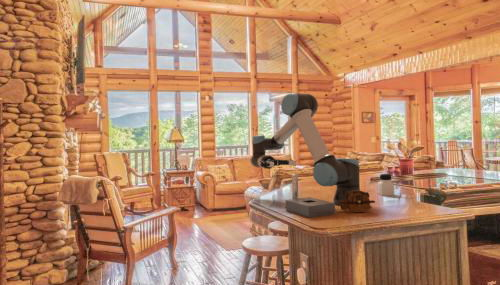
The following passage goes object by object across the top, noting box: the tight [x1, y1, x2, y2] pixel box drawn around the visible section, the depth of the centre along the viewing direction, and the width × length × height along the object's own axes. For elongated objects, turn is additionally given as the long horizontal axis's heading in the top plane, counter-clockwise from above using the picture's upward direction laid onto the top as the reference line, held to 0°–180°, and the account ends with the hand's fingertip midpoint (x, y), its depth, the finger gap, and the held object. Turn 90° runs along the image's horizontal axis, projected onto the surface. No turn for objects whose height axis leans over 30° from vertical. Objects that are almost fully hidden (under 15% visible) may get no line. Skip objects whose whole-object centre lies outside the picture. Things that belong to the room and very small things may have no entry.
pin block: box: [285, 196, 336, 219], centre depth 175 cm, size 20×14×5 cm
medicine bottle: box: [377, 173, 395, 197], centre depth 217 cm, size 7×7×12 cm
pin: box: [291, 173, 300, 199], centre depth 192 cm, size 3×3×16 cm
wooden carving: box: [338, 190, 376, 213], centre depth 171 cm, size 16×5×10 cm, turn 87°
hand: (284, 164), depth 200 cm, fingers open, 13 cm apart
